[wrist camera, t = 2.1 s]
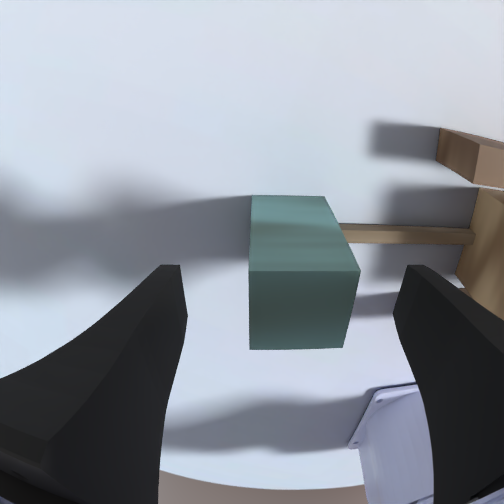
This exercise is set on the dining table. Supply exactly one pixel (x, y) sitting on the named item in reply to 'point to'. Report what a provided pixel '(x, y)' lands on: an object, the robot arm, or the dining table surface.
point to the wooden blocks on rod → (347, 266)
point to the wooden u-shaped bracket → (472, 159)
